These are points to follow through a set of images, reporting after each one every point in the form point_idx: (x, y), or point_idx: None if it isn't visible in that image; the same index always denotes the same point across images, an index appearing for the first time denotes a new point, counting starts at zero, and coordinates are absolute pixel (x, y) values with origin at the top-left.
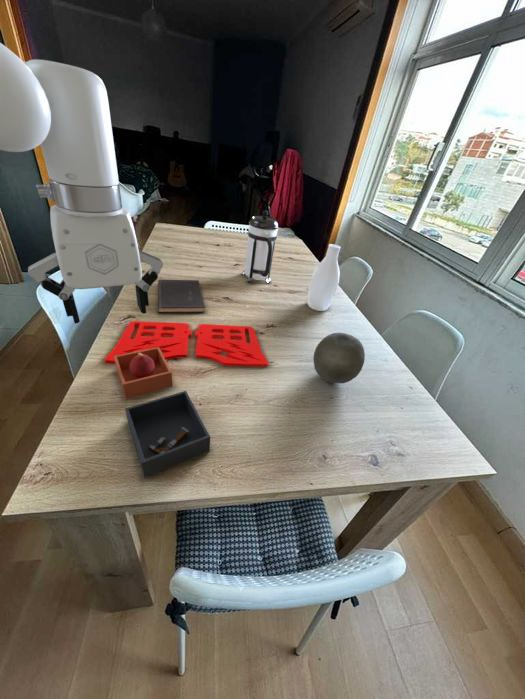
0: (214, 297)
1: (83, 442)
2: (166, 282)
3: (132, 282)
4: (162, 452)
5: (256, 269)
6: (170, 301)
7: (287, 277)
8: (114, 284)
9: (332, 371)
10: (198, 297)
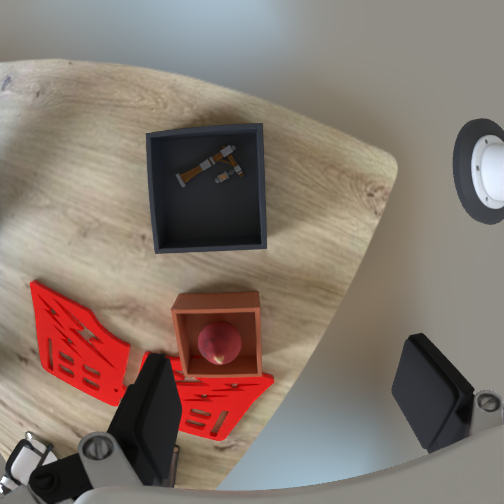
0: None
1: (328, 227)
2: (162, 485)
3: (139, 495)
4: (226, 153)
5: (37, 454)
6: None
7: (9, 427)
8: (292, 500)
9: None
10: None
